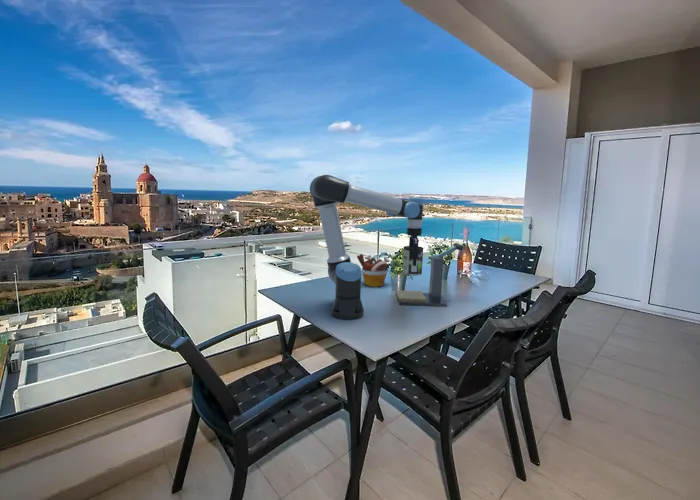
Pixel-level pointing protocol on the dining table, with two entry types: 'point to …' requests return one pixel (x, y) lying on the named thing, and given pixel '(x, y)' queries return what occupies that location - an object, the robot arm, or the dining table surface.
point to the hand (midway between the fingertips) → (412, 269)
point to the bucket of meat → (373, 270)
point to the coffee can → (408, 261)
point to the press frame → (434, 291)
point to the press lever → (450, 250)
